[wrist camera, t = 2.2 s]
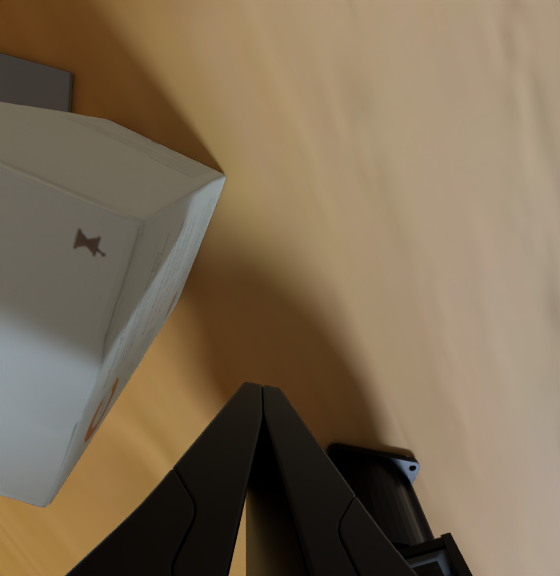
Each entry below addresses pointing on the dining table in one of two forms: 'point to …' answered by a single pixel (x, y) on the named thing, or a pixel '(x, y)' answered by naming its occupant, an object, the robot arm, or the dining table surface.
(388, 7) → the dining table surface
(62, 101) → the mat
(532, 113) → the dining table surface
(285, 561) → the robot arm
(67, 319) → the small box
